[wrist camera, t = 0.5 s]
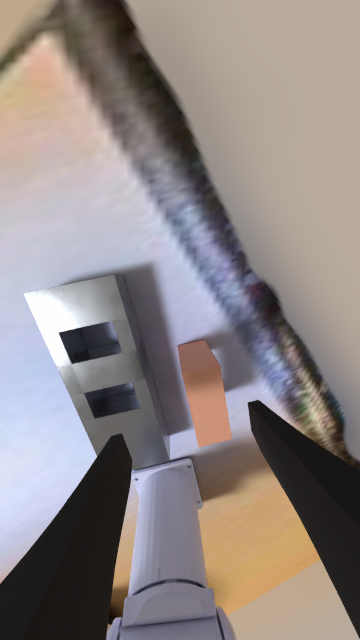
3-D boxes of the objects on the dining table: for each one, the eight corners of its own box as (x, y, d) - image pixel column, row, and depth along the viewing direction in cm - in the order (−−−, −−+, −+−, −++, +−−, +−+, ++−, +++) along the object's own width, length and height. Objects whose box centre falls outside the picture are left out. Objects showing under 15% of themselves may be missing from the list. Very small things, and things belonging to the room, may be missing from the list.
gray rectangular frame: (169, 436, 21) (169, 461, 18) (114, 448, 21) (106, 476, 18) (123, 274, 16) (114, 274, 13) (49, 290, 16) (23, 293, 13)
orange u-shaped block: (214, 396, 20) (231, 439, 15) (190, 402, 20) (198, 447, 15) (204, 339, 18) (220, 365, 13) (177, 345, 18) (182, 374, 13)
